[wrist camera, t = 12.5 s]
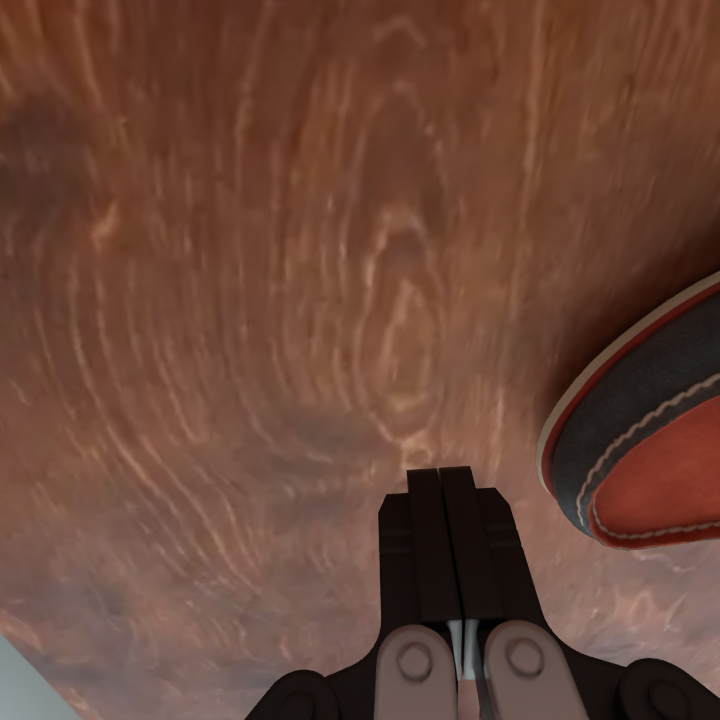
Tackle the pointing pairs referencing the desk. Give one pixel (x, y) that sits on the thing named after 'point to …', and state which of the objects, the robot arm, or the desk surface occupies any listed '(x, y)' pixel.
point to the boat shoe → (644, 431)
